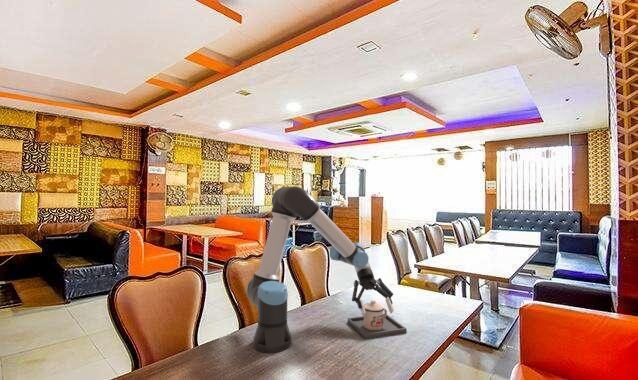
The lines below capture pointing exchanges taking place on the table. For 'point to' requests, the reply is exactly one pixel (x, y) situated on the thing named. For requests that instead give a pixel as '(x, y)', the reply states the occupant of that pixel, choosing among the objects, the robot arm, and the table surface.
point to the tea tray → (388, 329)
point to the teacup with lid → (374, 316)
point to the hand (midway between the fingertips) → (378, 313)
